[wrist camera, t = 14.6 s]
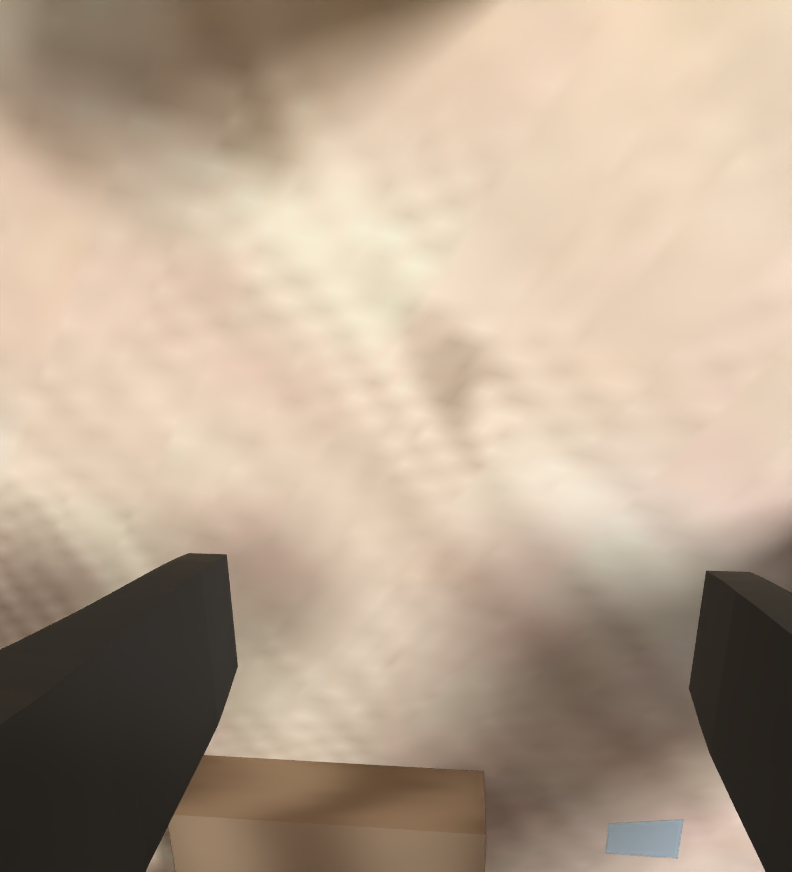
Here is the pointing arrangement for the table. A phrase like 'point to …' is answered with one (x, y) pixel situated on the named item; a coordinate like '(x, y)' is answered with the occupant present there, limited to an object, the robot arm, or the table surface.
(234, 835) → the walnut block
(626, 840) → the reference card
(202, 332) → the table surface
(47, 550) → the table surface
